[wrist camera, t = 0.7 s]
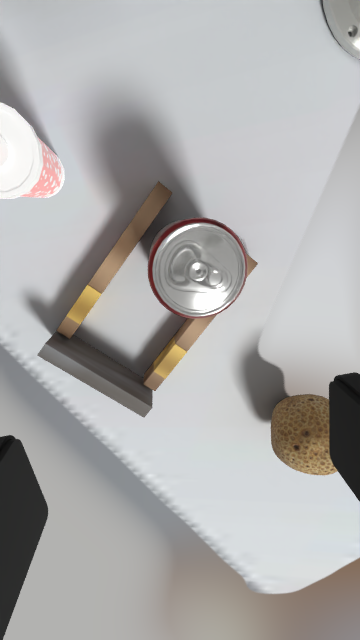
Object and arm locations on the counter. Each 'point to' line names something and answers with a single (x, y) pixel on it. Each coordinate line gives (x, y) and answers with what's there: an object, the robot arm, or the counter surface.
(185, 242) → the soda can
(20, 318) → the counter surface
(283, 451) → the natural sponge
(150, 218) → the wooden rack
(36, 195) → the beverage cup
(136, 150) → the counter surface
